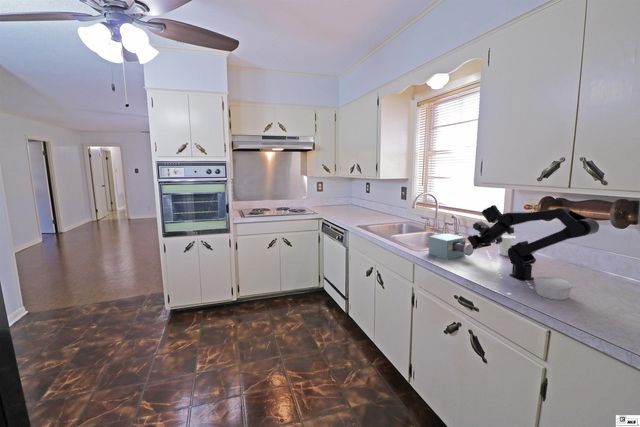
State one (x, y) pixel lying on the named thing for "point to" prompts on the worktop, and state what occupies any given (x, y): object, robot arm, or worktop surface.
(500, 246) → the white cup
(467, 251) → the plug
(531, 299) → the worktop surface
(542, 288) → the ramekin
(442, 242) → the socket block
